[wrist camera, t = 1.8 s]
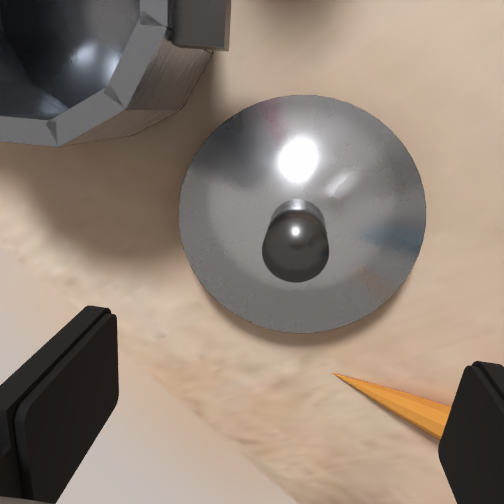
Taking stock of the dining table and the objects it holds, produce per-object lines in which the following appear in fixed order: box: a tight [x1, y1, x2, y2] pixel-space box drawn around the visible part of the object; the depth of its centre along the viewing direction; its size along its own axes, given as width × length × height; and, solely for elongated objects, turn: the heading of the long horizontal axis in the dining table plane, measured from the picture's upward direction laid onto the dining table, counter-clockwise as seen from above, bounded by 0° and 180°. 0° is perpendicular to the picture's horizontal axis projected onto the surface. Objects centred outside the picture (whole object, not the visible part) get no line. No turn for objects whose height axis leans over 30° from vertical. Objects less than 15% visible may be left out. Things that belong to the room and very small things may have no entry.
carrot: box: [333, 373, 452, 440], centre depth 31 cm, size 20×4×4 cm, turn 70°
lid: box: [179, 95, 426, 333], centre depth 25 cm, size 16×16×8 cm
